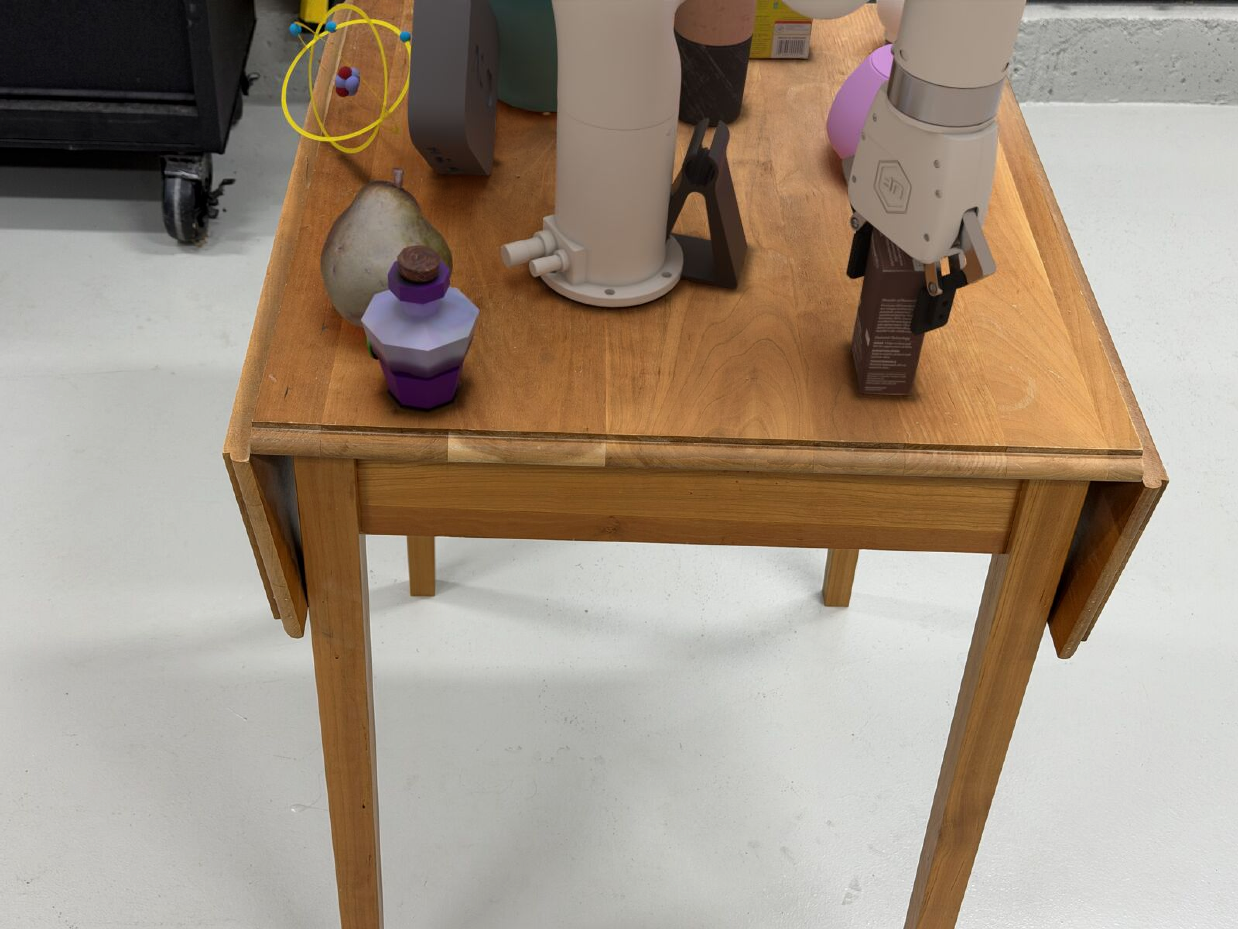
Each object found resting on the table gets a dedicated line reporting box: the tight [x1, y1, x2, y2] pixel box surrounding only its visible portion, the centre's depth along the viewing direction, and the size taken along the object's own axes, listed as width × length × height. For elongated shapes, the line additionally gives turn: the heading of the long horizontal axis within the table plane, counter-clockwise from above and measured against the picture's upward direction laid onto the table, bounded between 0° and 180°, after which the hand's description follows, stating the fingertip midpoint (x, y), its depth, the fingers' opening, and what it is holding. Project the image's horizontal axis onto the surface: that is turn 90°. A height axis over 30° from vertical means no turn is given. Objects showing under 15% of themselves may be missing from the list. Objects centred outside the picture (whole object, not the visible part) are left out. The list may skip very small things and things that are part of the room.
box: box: [850, 226, 927, 396], centre depth 107 cm, size 6×4×12 cm
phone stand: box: [665, 118, 748, 290], centre depth 117 cm, size 9×6×12 cm, turn 78°
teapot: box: [825, 44, 893, 161], centre depth 129 cm, size 20×14×12 cm
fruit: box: [319, 167, 454, 329], centre depth 109 cm, size 10×9×12 cm
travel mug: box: [673, 0, 757, 127], centre depth 133 cm, size 8×8×20 cm
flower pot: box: [488, 0, 558, 113], centre depth 136 cm, size 18×18×17 cm
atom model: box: [280, 3, 412, 154], centre depth 127 cm, size 14×15×14 cm
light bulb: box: [875, 0, 905, 46], centre depth 147 cm, size 7×7×11 cm
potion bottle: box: [361, 245, 481, 413], centre depth 103 cm, size 9×9×12 cm
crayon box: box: [749, 0, 814, 60], centre depth 145 cm, size 7×3×12 cm, turn 94°
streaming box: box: [407, 0, 500, 176], centre depth 123 cm, size 14×14×5 cm
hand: (895, 298), depth 106 cm, fingers closed on box, 7 cm apart
